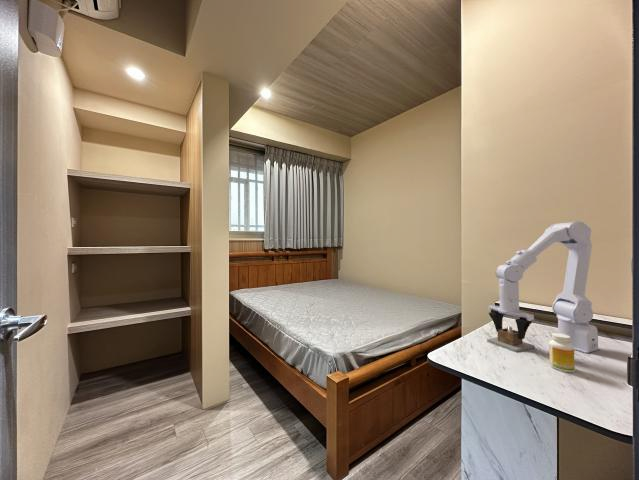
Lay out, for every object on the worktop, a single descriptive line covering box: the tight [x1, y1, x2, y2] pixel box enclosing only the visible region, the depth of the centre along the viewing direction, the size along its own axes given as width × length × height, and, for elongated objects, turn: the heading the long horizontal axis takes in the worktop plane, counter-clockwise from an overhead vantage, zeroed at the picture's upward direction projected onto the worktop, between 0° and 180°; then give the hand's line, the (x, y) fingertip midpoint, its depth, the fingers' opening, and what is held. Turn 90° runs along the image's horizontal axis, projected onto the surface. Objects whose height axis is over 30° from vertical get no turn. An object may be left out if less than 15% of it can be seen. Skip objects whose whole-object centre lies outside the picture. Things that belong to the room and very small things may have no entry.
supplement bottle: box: [548, 332, 576, 373], centre depth 74 cm, size 5×5×10 cm
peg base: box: [486, 325, 536, 353], centre depth 92 cm, size 10×10×7 cm
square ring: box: [497, 327, 523, 346], centre depth 92 cm, size 5×5×4 cm
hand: (509, 335), depth 92 cm, fingers open, 7 cm apart
